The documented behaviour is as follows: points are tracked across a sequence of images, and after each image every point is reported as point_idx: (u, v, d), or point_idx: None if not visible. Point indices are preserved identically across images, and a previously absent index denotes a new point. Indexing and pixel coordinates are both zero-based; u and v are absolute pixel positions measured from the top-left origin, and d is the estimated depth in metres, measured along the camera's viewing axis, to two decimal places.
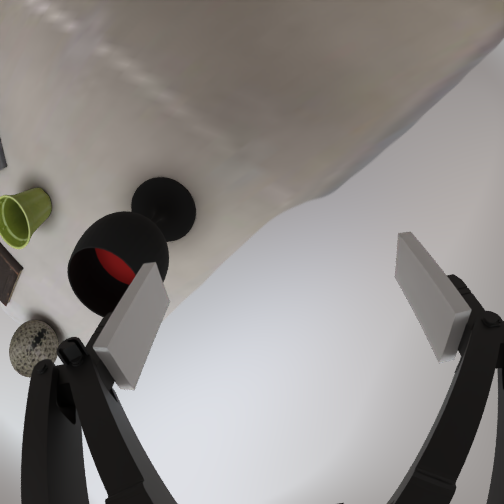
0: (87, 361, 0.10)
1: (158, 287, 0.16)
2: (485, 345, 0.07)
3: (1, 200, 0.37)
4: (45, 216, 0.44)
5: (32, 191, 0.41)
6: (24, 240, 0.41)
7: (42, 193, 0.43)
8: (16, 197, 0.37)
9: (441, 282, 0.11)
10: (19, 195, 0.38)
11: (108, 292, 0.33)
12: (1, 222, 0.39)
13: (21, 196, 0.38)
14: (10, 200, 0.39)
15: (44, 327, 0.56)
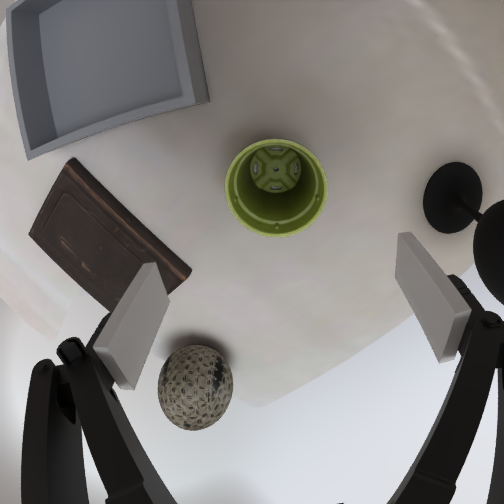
0: (87, 361, 0.10)
1: (158, 287, 0.16)
2: (485, 345, 0.07)
3: (254, 148, 0.27)
4: (301, 188, 0.34)
5: None
6: (279, 223, 0.31)
7: (298, 153, 0.33)
8: (297, 147, 0.27)
9: (441, 282, 0.11)
10: None
11: None
12: (231, 189, 0.29)
13: None
14: (252, 153, 0.29)
15: (217, 354, 0.46)
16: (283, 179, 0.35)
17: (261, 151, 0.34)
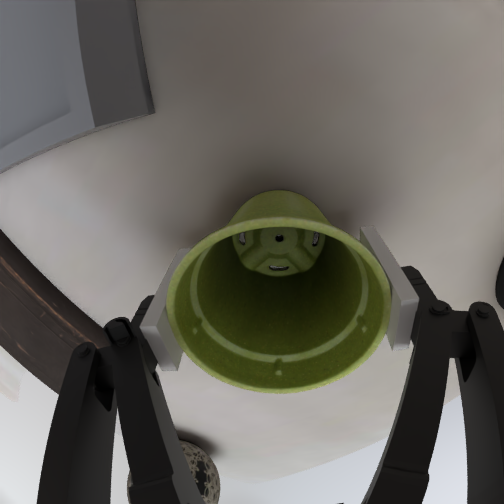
0: (134, 343, 0.11)
1: None
2: (436, 333, 0.09)
3: None
4: (325, 278, 0.18)
5: (304, 203, 0.16)
6: (284, 360, 0.16)
7: (321, 212, 0.18)
8: None
9: (392, 272, 0.12)
10: None
11: None
12: (185, 311, 0.14)
13: None
14: None
15: (198, 456, 0.30)
16: (293, 254, 0.20)
17: None
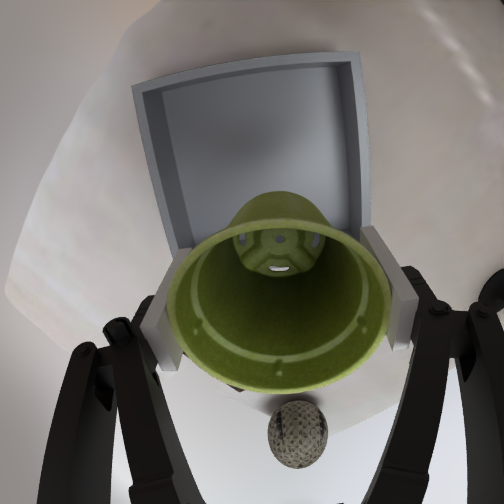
0: (134, 343, 0.11)
1: None
2: (436, 333, 0.09)
3: None
4: (325, 278, 0.18)
5: (305, 204, 0.16)
6: (285, 361, 0.16)
7: None
8: None
9: (392, 272, 0.12)
10: (309, 219, 0.13)
11: None
12: (186, 312, 0.14)
13: None
14: None
15: (316, 407, 0.53)
16: (293, 254, 0.20)
17: None
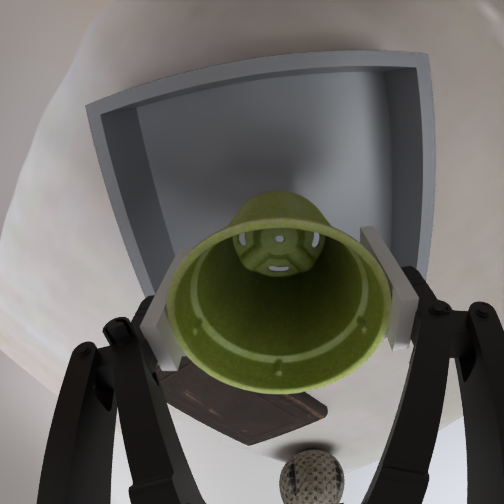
0: (133, 343, 0.11)
1: None
2: (436, 333, 0.09)
3: None
4: (325, 278, 0.18)
5: (304, 204, 0.16)
6: (284, 361, 0.16)
7: None
8: None
9: (392, 272, 0.12)
10: (309, 219, 0.13)
11: None
12: (185, 311, 0.14)
13: None
14: None
15: (332, 458, 0.44)
16: (293, 254, 0.20)
17: None
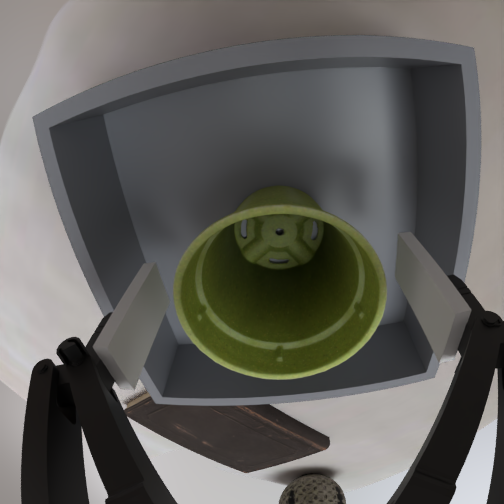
0: (87, 361, 0.10)
1: (158, 287, 0.16)
2: (485, 345, 0.07)
3: None
4: (323, 269, 0.19)
5: (303, 197, 0.17)
6: (285, 347, 0.16)
7: None
8: None
9: (441, 282, 0.11)
10: None
11: None
12: (190, 298, 0.14)
13: None
14: None
15: (334, 484, 0.39)
16: (292, 247, 0.21)
17: None
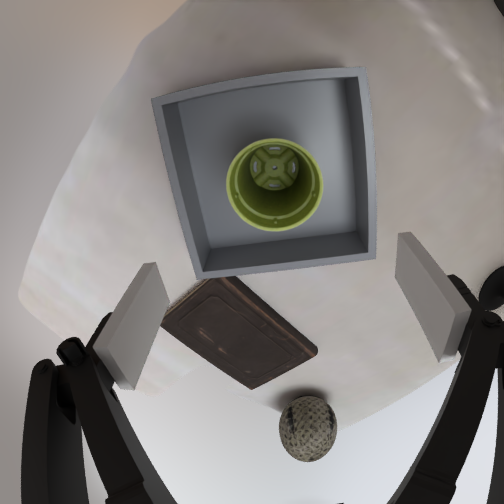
0: (87, 361, 0.10)
1: (158, 287, 0.16)
2: (485, 345, 0.07)
3: (254, 147, 0.28)
4: (298, 186, 0.35)
5: None
6: (278, 218, 0.33)
7: (295, 152, 0.35)
8: (294, 146, 0.28)
9: (441, 282, 0.11)
10: None
11: None
12: (232, 186, 0.31)
13: (292, 148, 0.30)
14: (251, 152, 0.31)
15: (325, 402, 0.55)
16: (282, 177, 0.37)
17: (260, 150, 0.35)
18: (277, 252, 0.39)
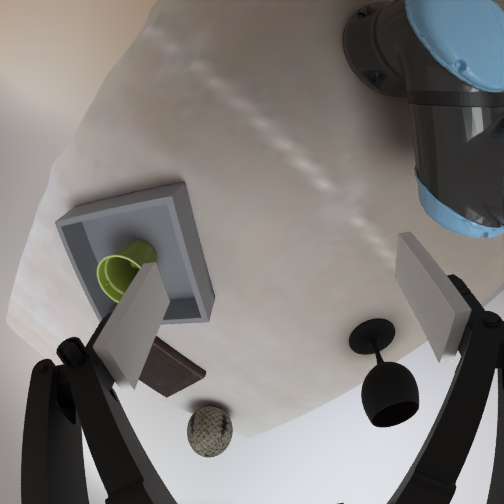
0: (87, 361, 0.10)
1: (158, 287, 0.16)
2: (485, 345, 0.07)
3: (108, 257, 0.44)
4: None
5: (139, 246, 0.48)
6: None
7: (149, 247, 0.50)
8: (131, 257, 0.44)
9: (441, 282, 0.11)
10: (130, 253, 0.45)
11: None
12: (103, 278, 0.46)
13: (134, 254, 0.45)
14: None
15: (222, 413, 0.71)
16: None
17: None
18: None
